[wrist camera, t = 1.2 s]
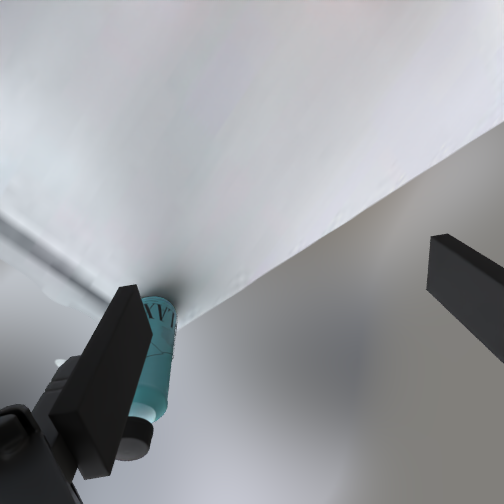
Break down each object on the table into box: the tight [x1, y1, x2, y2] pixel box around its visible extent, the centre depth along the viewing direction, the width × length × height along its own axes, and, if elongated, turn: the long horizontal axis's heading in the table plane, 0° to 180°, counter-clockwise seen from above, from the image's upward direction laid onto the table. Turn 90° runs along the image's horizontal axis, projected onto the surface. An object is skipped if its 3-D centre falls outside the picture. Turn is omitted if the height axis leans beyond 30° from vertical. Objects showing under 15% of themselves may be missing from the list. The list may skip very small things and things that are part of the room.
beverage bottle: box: [115, 296, 178, 461], centre depth 39 cm, size 6×7×20 cm
